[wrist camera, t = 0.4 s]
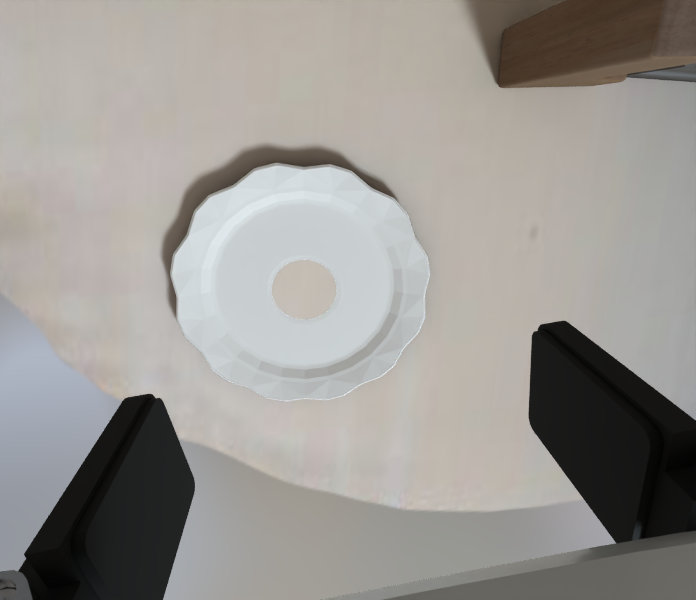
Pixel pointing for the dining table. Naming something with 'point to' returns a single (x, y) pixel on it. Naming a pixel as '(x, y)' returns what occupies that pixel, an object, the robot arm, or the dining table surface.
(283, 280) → the dining table surface
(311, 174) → the plate
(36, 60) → the dining table surface
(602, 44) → the wooden block
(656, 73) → the tray
